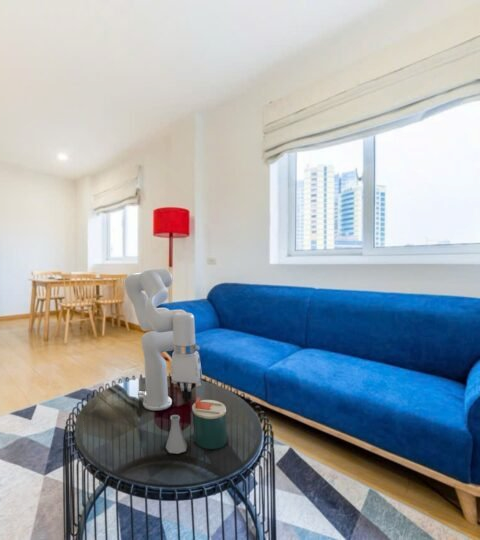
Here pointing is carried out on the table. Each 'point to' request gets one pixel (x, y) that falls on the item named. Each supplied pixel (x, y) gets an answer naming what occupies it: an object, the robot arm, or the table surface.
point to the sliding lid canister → (210, 425)
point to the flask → (176, 437)
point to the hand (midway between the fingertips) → (187, 401)
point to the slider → (202, 405)
